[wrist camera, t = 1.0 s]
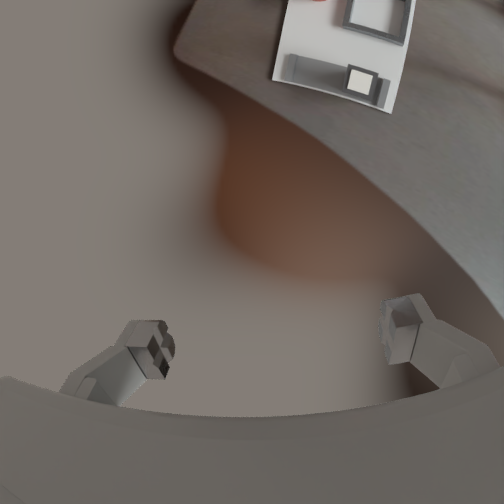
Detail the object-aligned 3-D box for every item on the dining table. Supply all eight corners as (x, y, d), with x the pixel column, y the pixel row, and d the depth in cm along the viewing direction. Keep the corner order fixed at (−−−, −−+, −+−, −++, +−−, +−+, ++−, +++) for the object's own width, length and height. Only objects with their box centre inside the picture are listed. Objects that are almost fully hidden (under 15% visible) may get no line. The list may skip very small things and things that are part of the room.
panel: (297, -27, 27) (293, -33, 25) (415, 0, 23) (417, -5, 21) (274, 80, 38) (269, 79, 37) (390, 113, 35) (391, 114, 33)
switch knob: (352, 71, 32) (347, 63, 25) (376, 79, 32) (378, 73, 24) (347, 93, 34) (341, 91, 27) (370, 101, 34) (371, 101, 26)
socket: (352, -18, 25) (351, -22, 23) (410, -1, 23) (412, -5, 21) (343, 28, 29) (342, 25, 28) (402, 46, 28) (404, 44, 26)
